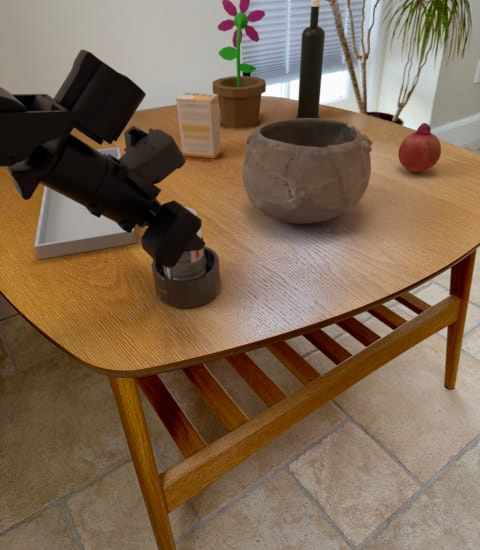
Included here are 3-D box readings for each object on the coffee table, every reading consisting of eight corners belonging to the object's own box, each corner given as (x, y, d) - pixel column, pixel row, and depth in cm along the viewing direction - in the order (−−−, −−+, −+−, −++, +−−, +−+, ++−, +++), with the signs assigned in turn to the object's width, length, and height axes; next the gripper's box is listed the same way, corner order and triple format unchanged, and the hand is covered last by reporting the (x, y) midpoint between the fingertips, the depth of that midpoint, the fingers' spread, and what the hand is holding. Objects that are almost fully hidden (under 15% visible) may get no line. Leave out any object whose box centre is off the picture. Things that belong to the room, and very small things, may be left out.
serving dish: (38, 259, 68) (33, 246, 66) (52, 165, 98) (49, 155, 97) (136, 243, 71) (134, 230, 69) (121, 157, 101) (119, 147, 100)
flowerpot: (269, 115, 124) (271, -10, 106) (260, 131, 113) (260, -5, 95) (221, 112, 127) (215, -10, 109) (207, 128, 116) (198, -5, 98)
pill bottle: (214, 274, 60) (210, 210, 54) (189, 296, 57) (182, 230, 51) (182, 262, 63) (175, 200, 57) (156, 282, 59) (146, 218, 53)
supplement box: (222, 152, 102) (219, 93, 94) (214, 159, 98) (211, 99, 91) (190, 148, 104) (184, 91, 96) (181, 156, 101) (175, 97, 93)
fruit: (390, 175, 89) (400, 127, 83) (398, 161, 95) (408, 115, 89) (432, 182, 86) (445, 132, 80) (438, 167, 92) (450, 119, 86)
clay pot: (220, 209, 79) (216, 127, 70) (303, 178, 89) (308, 102, 80) (301, 260, 66) (308, 166, 57) (387, 217, 76) (405, 131, 66)
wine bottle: (300, 113, 125) (308, -12, 107) (320, 115, 123) (331, -12, 105) (294, 119, 120) (301, -10, 102) (315, 121, 119) (325, -10, 101)
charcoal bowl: (161, 315, 56) (156, 288, 54) (152, 276, 63) (147, 250, 61) (227, 301, 58) (226, 274, 56) (212, 264, 65) (210, 239, 63)
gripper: (174, 136, 38) (270, 212, 50) (99, 93, 50) (190, 162, 62) (106, 240, 39) (215, 291, 51) (49, 174, 52) (147, 227, 63)
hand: (191, 236), depth 57 cm, fingers closed on pill bottle, 6 cm apart
